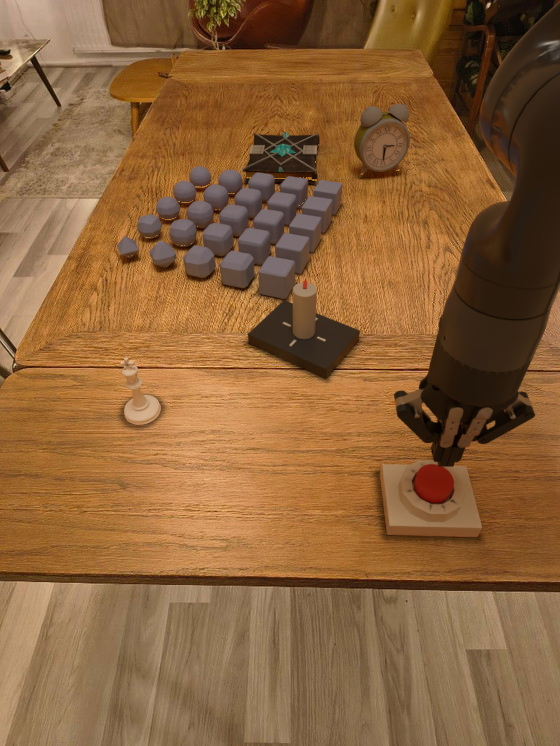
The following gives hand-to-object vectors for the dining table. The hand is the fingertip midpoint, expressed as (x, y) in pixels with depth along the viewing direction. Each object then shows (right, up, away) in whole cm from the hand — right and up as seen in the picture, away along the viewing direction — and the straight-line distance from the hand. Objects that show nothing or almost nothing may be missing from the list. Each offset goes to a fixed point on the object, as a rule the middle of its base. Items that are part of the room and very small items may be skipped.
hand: (444, 459), depth 54 cm
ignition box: (0, -6, +6) cm, 9 cm away
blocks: (-26, +37, +49) cm, 67 cm away
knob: (-14, +15, +25) cm, 32 cm away
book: (-16, +59, +71) cm, 94 cm away
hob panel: (-13, +14, +26) cm, 33 cm away
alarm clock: (+6, +56, +67) cm, 87 cm away
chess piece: (-36, +4, +17) cm, 40 cm away
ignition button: (0, -4, +4) cm, 5 cm away
